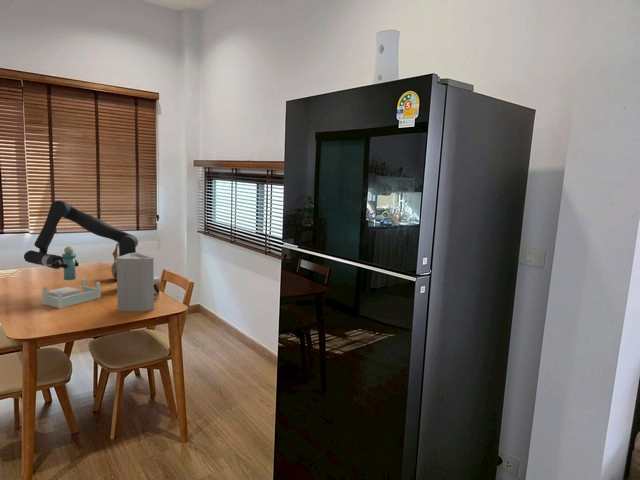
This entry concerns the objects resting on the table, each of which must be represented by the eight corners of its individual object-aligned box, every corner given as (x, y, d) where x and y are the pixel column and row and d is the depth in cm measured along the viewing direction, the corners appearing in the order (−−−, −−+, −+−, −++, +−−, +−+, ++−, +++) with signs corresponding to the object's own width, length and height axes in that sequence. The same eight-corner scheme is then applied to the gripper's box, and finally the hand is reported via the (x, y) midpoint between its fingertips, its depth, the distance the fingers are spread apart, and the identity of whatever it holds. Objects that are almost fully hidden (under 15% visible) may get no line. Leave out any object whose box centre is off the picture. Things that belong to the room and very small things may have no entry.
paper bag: (111, 306, 223) (109, 255, 219) (138, 301, 234) (137, 252, 230) (126, 315, 210) (125, 261, 206) (154, 309, 221) (154, 258, 217)
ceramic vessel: (130, 281, 275) (130, 244, 272) (116, 283, 269) (115, 245, 265) (121, 276, 287) (121, 240, 283) (107, 278, 280) (106, 241, 277)
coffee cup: (154, 300, 236) (154, 280, 234) (139, 299, 237) (139, 278, 236) (163, 296, 245) (163, 276, 243) (149, 294, 247) (149, 275, 245)
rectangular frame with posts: (43, 303, 221) (42, 287, 220) (84, 294, 242) (84, 279, 241) (59, 308, 215) (58, 291, 214) (100, 297, 236) (100, 282, 235)
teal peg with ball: (78, 277, 233) (77, 245, 230) (73, 280, 226) (71, 247, 224) (66, 277, 232) (65, 245, 229) (60, 280, 226) (59, 247, 223)
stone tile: (46, 294, 238) (46, 291, 237) (67, 290, 248) (66, 286, 248) (59, 298, 232) (59, 294, 232) (80, 293, 243) (80, 289, 243)
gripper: (39, 256, 227) (59, 260, 220) (65, 253, 240) (84, 256, 233) (40, 270, 228) (59, 274, 221) (65, 265, 241) (84, 269, 234)
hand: (72, 265), depth 227 cm, fingers closed on teal peg with ball, 5 cm apart
